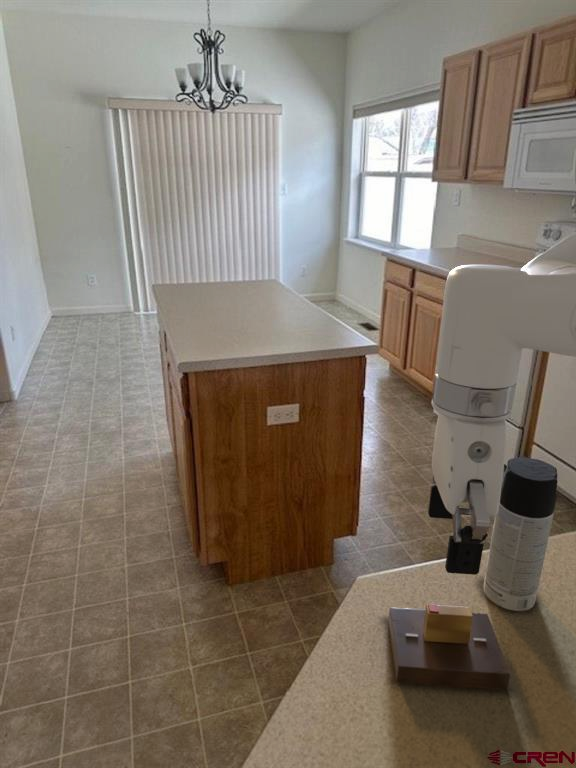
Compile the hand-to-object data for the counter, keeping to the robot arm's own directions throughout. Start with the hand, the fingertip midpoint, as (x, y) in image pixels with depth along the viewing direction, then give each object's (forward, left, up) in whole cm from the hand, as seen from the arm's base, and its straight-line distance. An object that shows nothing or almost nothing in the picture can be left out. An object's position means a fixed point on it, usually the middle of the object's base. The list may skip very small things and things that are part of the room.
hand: (450, 542), depth 58 cm
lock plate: (-1, 0, -16) cm, 16 cm away
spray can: (-12, -11, -16) cm, 23 cm away
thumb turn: (-1, 0, -13) cm, 13 cm away
